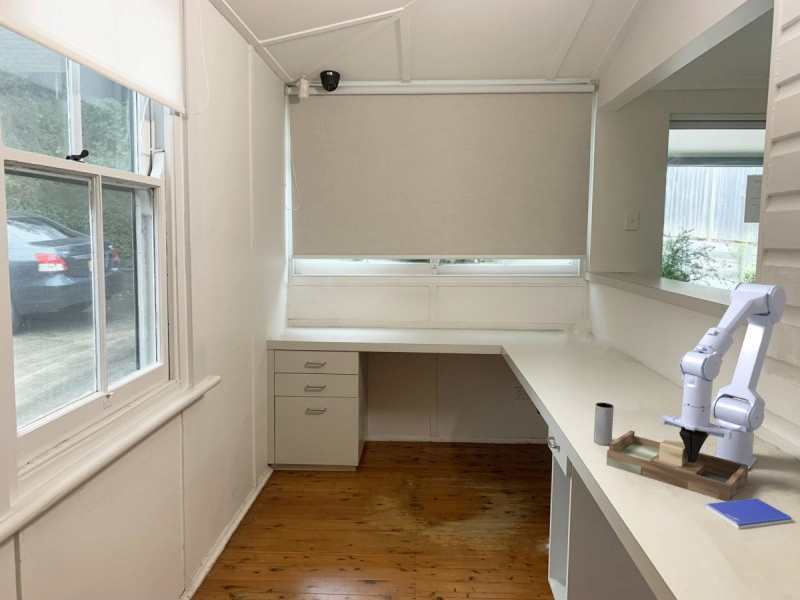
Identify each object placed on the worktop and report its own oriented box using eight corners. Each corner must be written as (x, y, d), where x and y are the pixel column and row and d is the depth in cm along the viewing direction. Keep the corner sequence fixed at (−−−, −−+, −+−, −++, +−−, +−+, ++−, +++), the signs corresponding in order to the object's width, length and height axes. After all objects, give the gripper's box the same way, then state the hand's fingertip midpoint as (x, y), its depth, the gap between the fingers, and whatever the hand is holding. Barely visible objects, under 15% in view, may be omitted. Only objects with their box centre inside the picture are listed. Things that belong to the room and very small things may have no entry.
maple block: (666, 454, 131) (667, 438, 131) (688, 460, 128) (689, 444, 127) (658, 460, 127) (659, 444, 127) (681, 466, 124) (682, 449, 124)
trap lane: (631, 448, 140) (632, 429, 139) (747, 480, 122) (748, 458, 121) (606, 464, 129) (607, 444, 129) (729, 502, 111) (731, 479, 111)
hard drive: (738, 523, 101) (792, 517, 104) (705, 502, 109) (755, 497, 112) (737, 531, 101) (791, 524, 104) (704, 510, 109) (754, 504, 112)
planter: (593, 444, 143) (595, 406, 141) (593, 438, 147) (595, 401, 146) (611, 446, 141) (613, 408, 140) (611, 440, 145) (613, 403, 144)
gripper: (657, 400, 125) (653, 456, 127) (728, 415, 115) (723, 476, 117) (667, 394, 130) (663, 448, 132) (736, 408, 120) (731, 466, 122)
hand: (692, 461), depth 125 cm, fingers closed
